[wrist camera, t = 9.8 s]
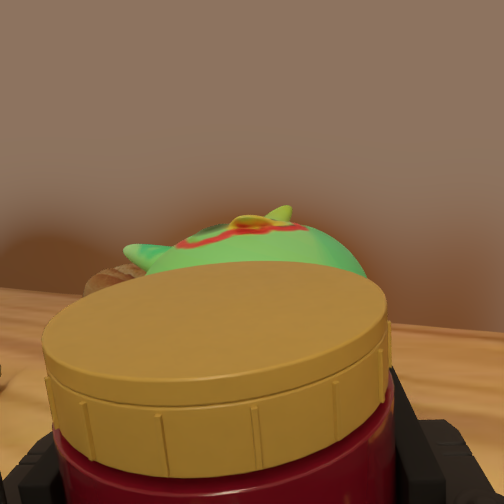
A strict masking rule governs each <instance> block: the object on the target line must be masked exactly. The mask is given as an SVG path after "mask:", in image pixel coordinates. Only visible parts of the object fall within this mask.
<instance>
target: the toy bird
mask: <svg viewBox="0 0 504 504" xmlns="http://www.w3.org/2000/svg"><path fill="white" fill-rule="evenodd" d="M291 215H292V207H291V206H289V205H285V206H281V207H279V208H277V209H275V210H273V211H272V212H270V213H269V214H267V215H266V216H264V217H261V216H256V215H243V216H239V217H237V218H235V219H234V220H233V221H232V222H231V223H230V224H218V225H215V226H211V227H208V228H205V229H203V230H201V231H199V232H198V233H197V234H195V235H193V236H191V237H189V238H187V239H185V240H183V241H181V242H179V243H178V244H176V245H175V246H173V247H169V246H159V245H150V244H132V245H128V246H126V247H125V248H124V250H123V253H124V255H125V256H126V257H127V258H128V259H129V260H130V261H131V262H133V263H134V264H135V265H137V266H138V267H140V268H141V269H142V270H144V271H145V272H147V273H146V275H150V274H155V273H159V272H163V271H169V270H174V269H179V268H186V267H192V266H199V265H207V264H216V263H227V262H242V261H289V262H303V263H312V264H319V265H325V266H330V267H335V268H339V269H343V270H346V271H350V272H353V273H356V274H358V275H361V276H363V277H365V278H367V277H366V275H365V273H364V271H363V269H362V267H361V266H360V264H359V263H358V261H357V260H356V259H355V257H354V256H353V255H352V254H351V253H350V251H349V250H347V249H346V248H345V247H344V246H343V245H342V244H340V242H338V241H337V240H335V239H334V238H332V237H331V236H329V235H327V234H325V233H323V232H321V231H319V230H317V229H314V228H312V227H308V226H304V225H300V224H297V223H292V222H289V221H290V219H291ZM146 275H145V276H146Z"/></svg>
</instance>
